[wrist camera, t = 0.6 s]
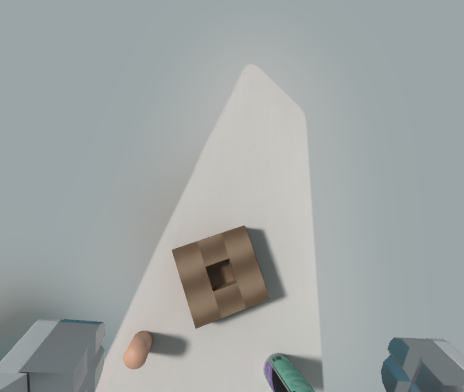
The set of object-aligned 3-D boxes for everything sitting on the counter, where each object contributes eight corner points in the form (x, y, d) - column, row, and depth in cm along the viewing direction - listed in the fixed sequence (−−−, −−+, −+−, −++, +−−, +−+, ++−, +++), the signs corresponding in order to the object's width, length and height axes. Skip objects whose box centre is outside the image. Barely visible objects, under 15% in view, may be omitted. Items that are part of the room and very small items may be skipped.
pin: (154, 346, 50) (149, 363, 43) (135, 354, 49) (126, 372, 43) (149, 327, 50) (143, 341, 44) (130, 335, 50) (120, 350, 43)
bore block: (262, 293, 55) (269, 298, 50) (195, 320, 52) (195, 328, 47) (240, 226, 56) (244, 225, 51) (173, 249, 53) (171, 250, 48)
